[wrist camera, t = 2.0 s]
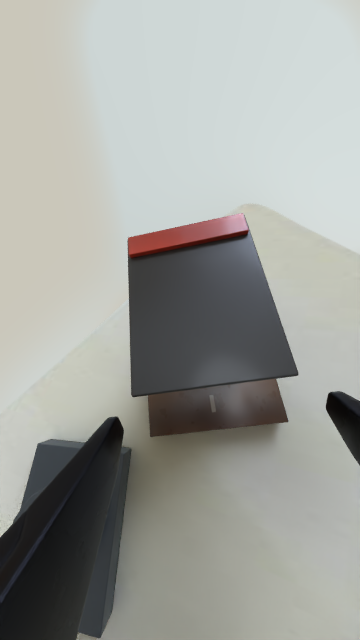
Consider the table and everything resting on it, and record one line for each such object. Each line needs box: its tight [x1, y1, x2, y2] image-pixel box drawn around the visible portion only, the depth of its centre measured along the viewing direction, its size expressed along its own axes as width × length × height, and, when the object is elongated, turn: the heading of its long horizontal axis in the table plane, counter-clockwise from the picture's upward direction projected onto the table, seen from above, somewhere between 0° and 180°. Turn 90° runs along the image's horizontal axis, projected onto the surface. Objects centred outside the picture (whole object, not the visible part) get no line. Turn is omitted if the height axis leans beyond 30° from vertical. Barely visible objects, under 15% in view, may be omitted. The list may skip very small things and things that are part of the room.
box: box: [128, 213, 298, 397], centre depth 13 cm, size 7×6×12 cm
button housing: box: [13, 439, 131, 638], centre depth 15 cm, size 11×9×4 cm
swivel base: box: [148, 379, 288, 437], centre depth 19 cm, size 13×12×2 cm
